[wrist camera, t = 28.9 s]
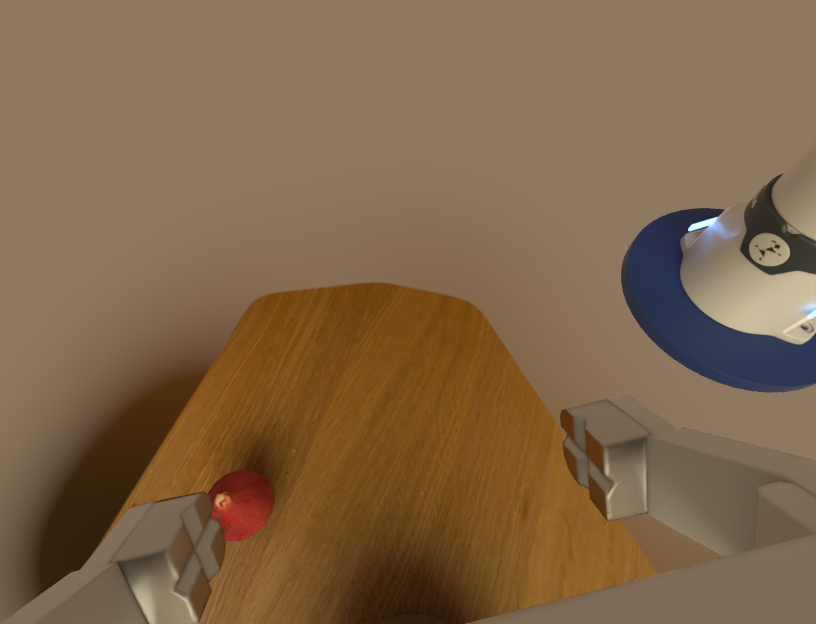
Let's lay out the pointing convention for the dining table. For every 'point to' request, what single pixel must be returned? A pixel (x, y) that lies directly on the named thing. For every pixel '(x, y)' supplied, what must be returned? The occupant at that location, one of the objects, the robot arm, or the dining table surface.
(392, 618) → the bowl
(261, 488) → the onion
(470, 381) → the dining table surface
